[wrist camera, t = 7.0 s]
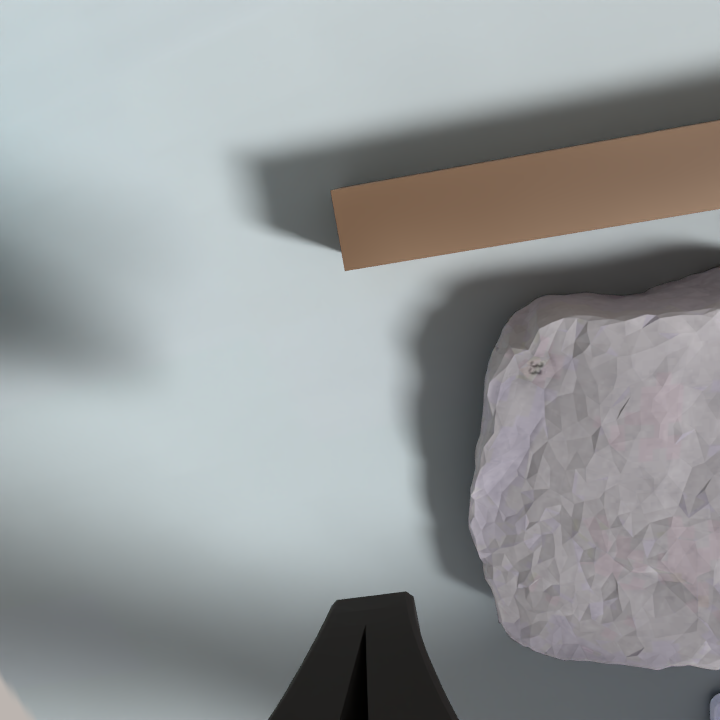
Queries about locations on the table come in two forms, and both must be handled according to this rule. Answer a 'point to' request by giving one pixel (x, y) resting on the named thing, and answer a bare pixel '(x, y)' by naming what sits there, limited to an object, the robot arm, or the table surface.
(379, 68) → the table surface
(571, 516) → the stone block
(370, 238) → the dock
